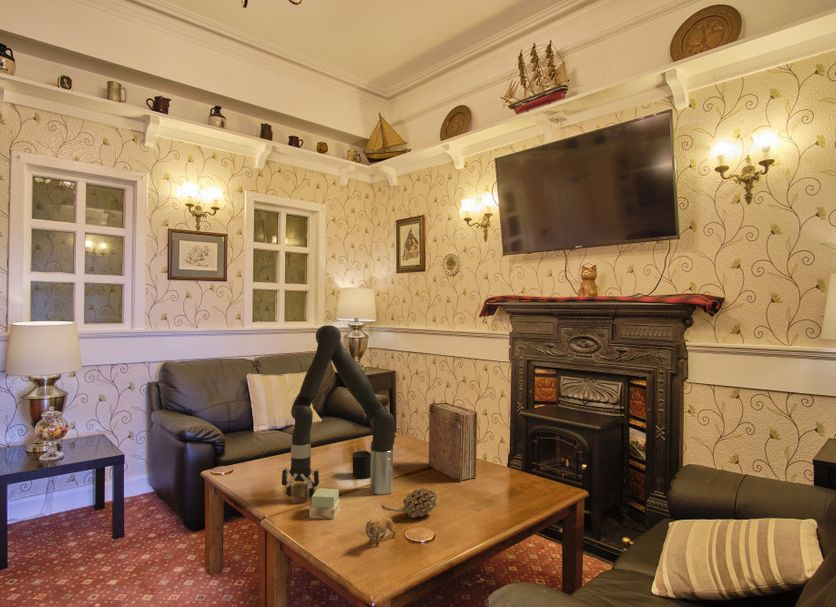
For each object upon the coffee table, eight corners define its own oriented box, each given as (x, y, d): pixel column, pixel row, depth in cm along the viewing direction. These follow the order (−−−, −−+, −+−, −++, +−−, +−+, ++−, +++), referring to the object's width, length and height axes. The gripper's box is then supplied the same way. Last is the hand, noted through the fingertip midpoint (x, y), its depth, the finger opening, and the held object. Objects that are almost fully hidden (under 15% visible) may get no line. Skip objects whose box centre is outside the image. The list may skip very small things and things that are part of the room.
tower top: (338, 499, 188) (338, 489, 188) (333, 508, 180) (333, 497, 180) (317, 498, 189) (317, 488, 189) (311, 507, 181) (311, 496, 181)
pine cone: (430, 508, 191) (431, 482, 191) (442, 517, 182) (442, 490, 182) (376, 517, 182) (376, 490, 182) (385, 528, 173) (386, 499, 173)
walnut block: (308, 498, 198) (308, 483, 198) (304, 503, 193) (304, 487, 193) (295, 498, 199) (296, 482, 199) (291, 502, 194) (291, 487, 194)
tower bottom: (339, 510, 188) (339, 499, 188) (333, 520, 179) (334, 509, 179) (316, 509, 189) (316, 498, 189) (309, 519, 180) (309, 507, 180)
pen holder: (374, 473, 230) (375, 451, 230) (370, 480, 220) (371, 457, 220) (354, 472, 231) (355, 450, 231) (349, 479, 221) (350, 456, 221)
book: (476, 478, 224) (477, 411, 225) (460, 482, 219) (461, 413, 220) (444, 463, 246) (445, 402, 246) (428, 466, 241) (429, 403, 241)
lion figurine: (375, 553, 155) (375, 524, 155) (360, 549, 158) (361, 520, 158) (399, 535, 168) (399, 508, 168) (385, 531, 171) (386, 504, 171)
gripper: (321, 452, 199) (320, 493, 199) (286, 451, 200) (285, 492, 200) (316, 458, 192) (315, 500, 192) (279, 457, 193) (278, 499, 193)
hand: (300, 496), depth 196 cm, fingers open, 8 cm apart
